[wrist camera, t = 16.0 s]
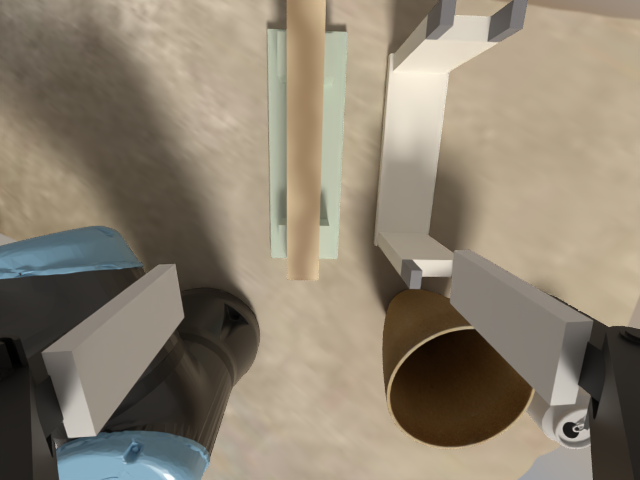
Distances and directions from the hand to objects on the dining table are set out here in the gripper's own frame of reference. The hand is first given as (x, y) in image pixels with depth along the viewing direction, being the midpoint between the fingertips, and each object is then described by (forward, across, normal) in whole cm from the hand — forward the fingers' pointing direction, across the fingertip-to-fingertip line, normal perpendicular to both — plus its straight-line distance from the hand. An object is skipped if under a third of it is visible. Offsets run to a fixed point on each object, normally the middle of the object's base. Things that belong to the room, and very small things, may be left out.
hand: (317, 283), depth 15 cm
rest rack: (+27, 0, +6) cm, 28 cm away
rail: (+22, 0, +6) cm, 23 cm away
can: (+27, +32, -27) cm, 50 cm away
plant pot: (+27, +14, -17) cm, 35 cm away
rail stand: (+27, +13, +5) cm, 30 cm away
